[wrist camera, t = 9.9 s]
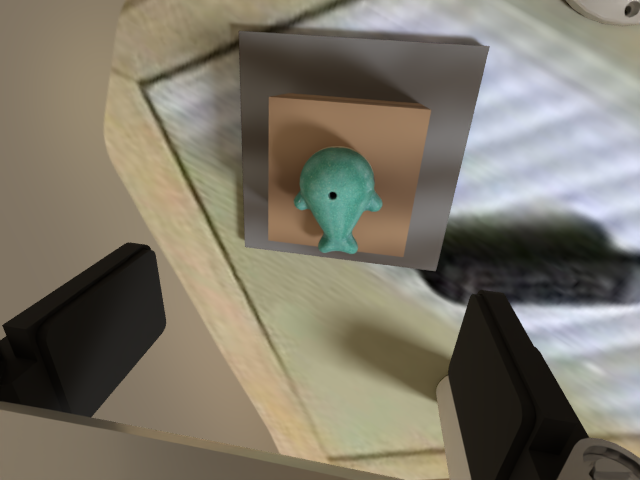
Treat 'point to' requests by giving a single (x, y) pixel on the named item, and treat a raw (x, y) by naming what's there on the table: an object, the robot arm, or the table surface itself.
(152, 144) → the table surface
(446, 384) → the mug
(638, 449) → the table surface
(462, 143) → the display plinth
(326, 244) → the whale figurine
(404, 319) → the table surface
